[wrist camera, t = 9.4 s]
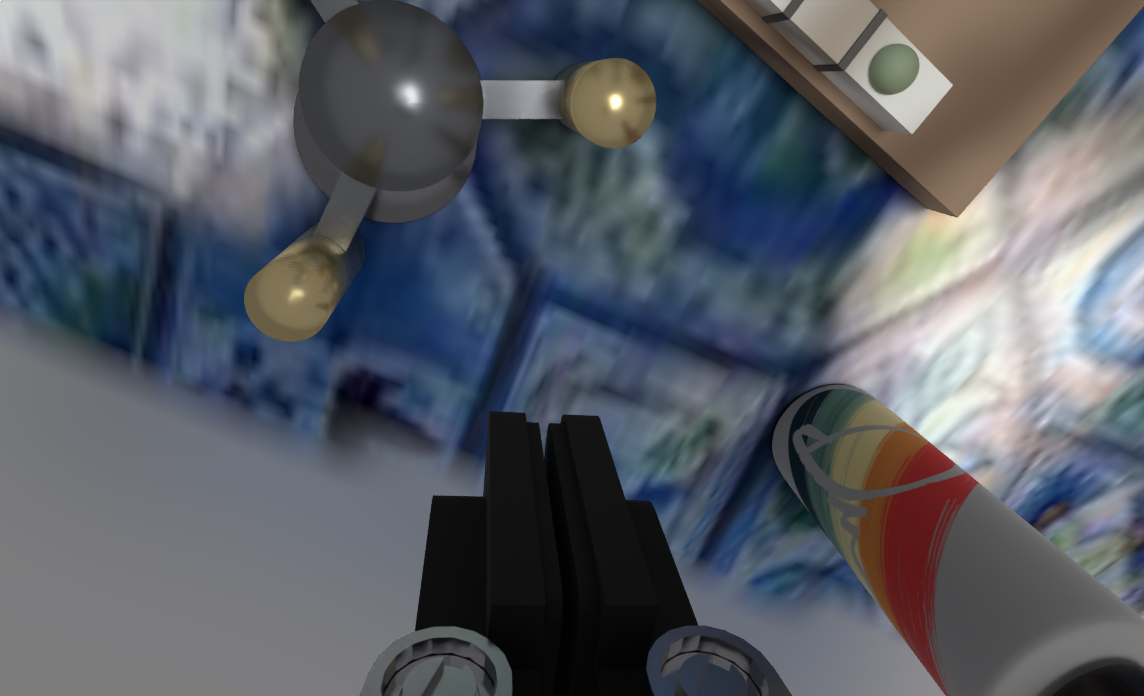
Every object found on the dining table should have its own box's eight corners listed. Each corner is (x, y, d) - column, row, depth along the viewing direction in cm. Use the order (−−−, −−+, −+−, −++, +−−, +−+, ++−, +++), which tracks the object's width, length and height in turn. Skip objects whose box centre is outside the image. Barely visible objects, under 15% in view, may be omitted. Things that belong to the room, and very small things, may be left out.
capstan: (270, -145, 21) (178, -240, 15) (625, 85, 25) (672, 87, 19) (144, 190, 25) (26, 229, 18) (476, 349, 29) (474, 427, 22)
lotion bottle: (803, 366, 31) (1271, 792, 12) (903, 400, 32) (1457, 830, 14) (748, 468, 33) (1088, 972, 14) (845, 496, 34) (1270, 991, 16)
